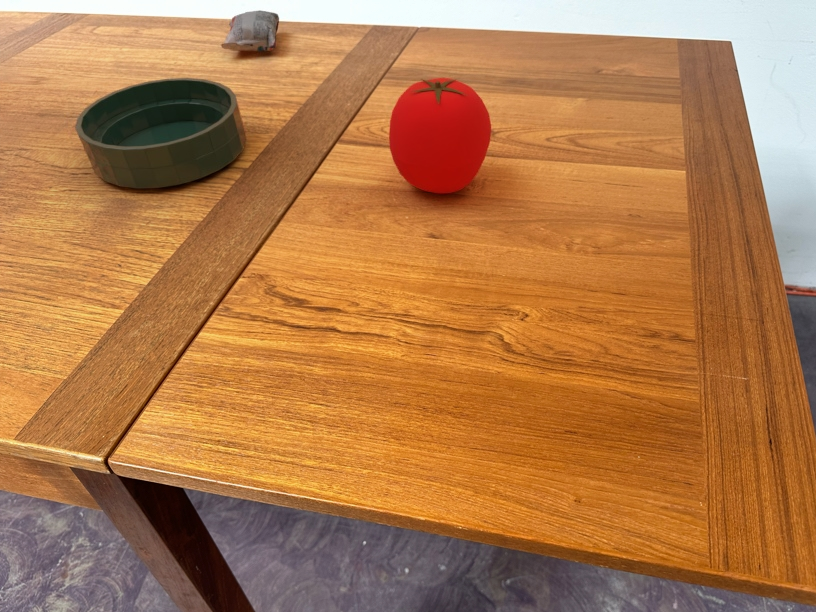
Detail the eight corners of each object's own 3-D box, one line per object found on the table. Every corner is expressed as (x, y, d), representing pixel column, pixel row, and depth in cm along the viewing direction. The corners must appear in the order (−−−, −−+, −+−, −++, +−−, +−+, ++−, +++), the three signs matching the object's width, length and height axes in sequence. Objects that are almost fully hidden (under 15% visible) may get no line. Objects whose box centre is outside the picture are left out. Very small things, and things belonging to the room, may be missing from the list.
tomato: (425, 221, 75) (418, 115, 66) (375, 176, 82) (363, 76, 73) (512, 186, 80) (517, 83, 71) (458, 147, 87) (456, 49, 78)
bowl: (88, 205, 79) (66, 160, 75) (101, 131, 92) (83, 89, 88) (252, 178, 83) (241, 133, 78) (243, 110, 96) (232, 69, 92)
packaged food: (225, 61, 109) (217, 30, 105) (233, 34, 117) (226, 5, 114) (278, 58, 110) (273, 27, 106) (282, 32, 118) (277, 2, 114)
